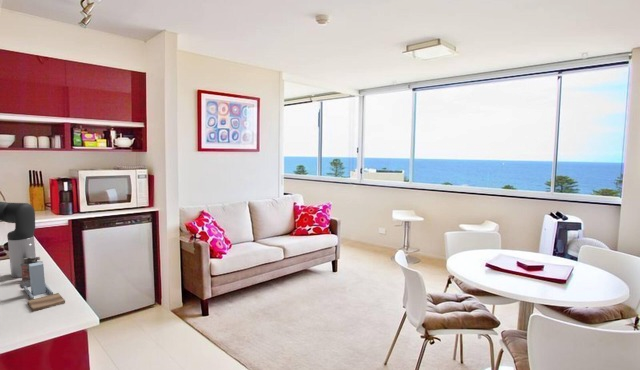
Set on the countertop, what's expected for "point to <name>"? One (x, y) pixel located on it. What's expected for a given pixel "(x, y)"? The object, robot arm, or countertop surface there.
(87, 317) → the countertop surface
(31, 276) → the block
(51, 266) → the countertop surface
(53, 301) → the board
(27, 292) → the channel
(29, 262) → the lighter
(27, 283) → the dark gray flat plate
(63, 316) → the countertop surface
